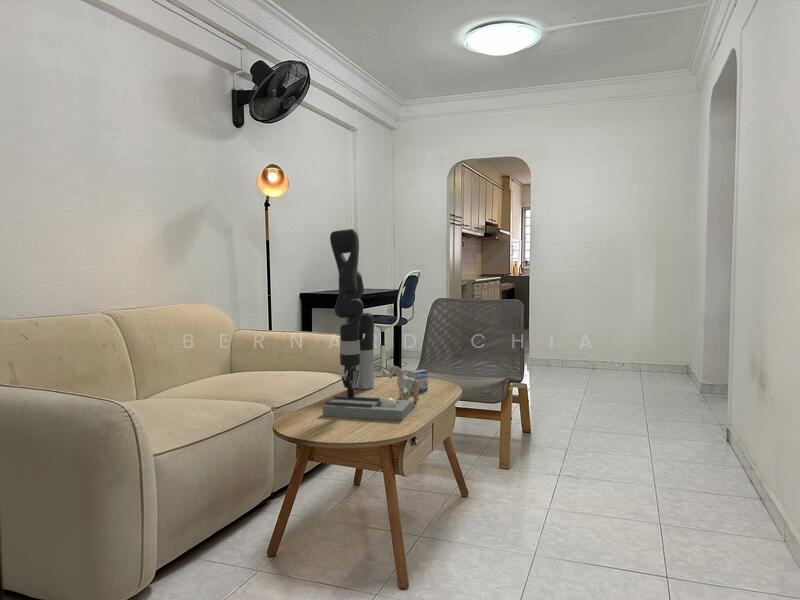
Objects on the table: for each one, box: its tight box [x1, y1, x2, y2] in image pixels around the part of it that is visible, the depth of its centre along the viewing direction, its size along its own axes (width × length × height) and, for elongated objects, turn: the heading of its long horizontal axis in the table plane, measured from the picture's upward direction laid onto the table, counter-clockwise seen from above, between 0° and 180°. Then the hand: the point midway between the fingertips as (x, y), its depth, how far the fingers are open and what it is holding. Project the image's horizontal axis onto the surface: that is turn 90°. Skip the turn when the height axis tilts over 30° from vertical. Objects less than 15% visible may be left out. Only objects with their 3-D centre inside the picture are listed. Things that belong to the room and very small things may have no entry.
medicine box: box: [407, 369, 429, 393], centre depth 252 cm, size 8×4×9 cm, turn 129°
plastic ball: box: [381, 397, 397, 408], centre depth 215 cm, size 6×6×6 cm
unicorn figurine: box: [379, 365, 420, 403], centre depth 235 cm, size 7×20×13 cm, turn 52°
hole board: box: [322, 395, 413, 421], centre depth 217 cm, size 15×30×4 cm, turn 75°
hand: (350, 397), depth 219 cm, fingers closed
